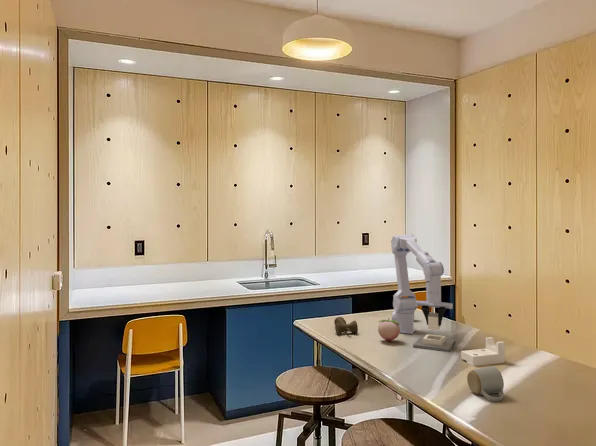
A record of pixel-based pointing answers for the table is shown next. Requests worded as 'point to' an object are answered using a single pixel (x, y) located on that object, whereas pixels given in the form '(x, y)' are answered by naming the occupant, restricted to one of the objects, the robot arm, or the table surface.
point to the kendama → (345, 326)
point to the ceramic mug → (486, 382)
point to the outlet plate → (434, 343)
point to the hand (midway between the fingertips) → (434, 324)
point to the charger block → (433, 321)
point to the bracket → (485, 354)
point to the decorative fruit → (389, 329)
